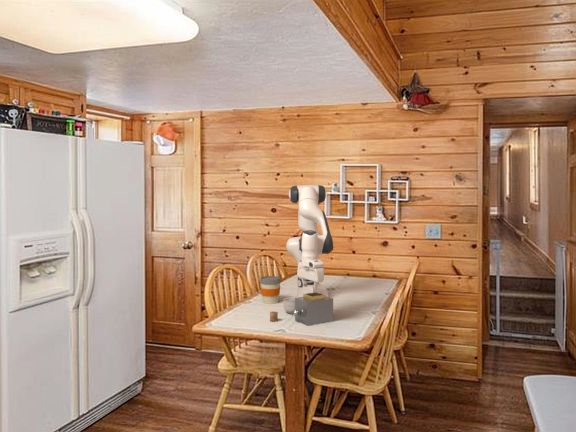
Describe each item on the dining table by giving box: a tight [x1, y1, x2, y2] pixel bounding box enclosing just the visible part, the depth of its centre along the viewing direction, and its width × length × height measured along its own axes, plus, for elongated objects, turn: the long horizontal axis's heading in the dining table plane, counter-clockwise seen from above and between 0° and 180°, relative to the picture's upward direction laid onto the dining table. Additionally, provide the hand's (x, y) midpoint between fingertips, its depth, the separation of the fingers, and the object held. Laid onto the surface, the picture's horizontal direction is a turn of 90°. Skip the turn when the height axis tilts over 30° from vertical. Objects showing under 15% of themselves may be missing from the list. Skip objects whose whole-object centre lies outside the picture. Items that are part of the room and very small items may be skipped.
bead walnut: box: [269, 311, 279, 323], centre depth 272 cm, size 4×4×4 cm
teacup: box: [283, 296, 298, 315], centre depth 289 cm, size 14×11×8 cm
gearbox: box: [292, 292, 334, 327], centre depth 270 cm, size 19×12×14 cm, turn 120°
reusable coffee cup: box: [259, 275, 282, 305], centre depth 312 cm, size 13×13×15 cm
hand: (310, 288), depth 270 cm, fingers open, 8 cm apart
